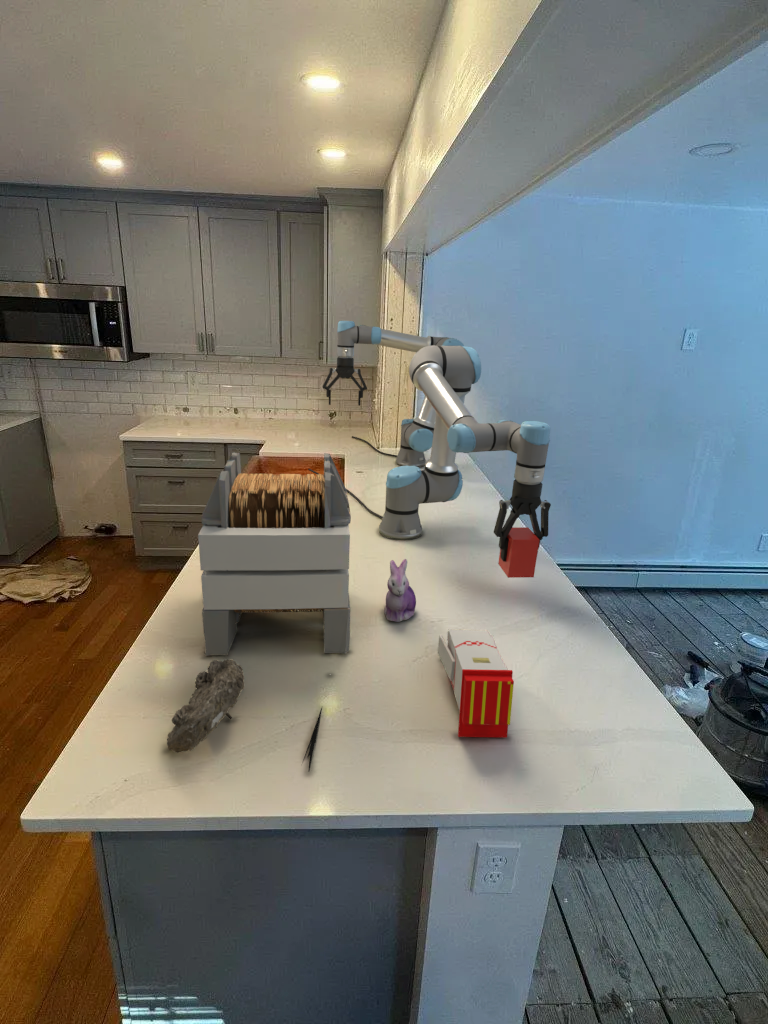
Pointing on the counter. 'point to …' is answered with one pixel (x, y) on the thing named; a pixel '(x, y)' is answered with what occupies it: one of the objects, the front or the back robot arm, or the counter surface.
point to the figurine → (399, 594)
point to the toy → (478, 682)
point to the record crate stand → (275, 551)
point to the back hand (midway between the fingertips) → (344, 404)
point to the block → (520, 553)
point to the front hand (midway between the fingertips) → (517, 559)
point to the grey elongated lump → (206, 705)
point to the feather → (313, 740)
